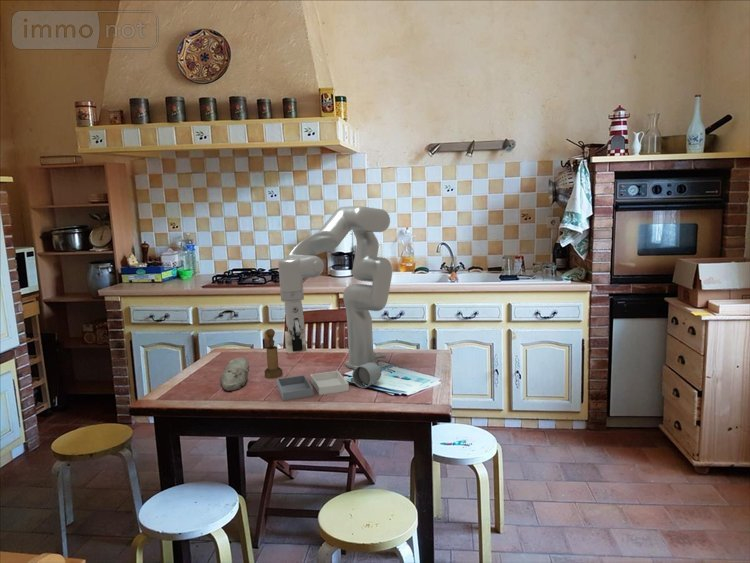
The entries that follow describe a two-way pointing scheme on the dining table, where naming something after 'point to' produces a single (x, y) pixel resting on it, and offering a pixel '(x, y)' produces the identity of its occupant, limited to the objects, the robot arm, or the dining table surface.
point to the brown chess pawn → (272, 358)
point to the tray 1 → (294, 387)
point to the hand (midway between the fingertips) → (295, 347)
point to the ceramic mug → (366, 374)
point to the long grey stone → (235, 374)
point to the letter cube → (289, 341)
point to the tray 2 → (329, 382)
